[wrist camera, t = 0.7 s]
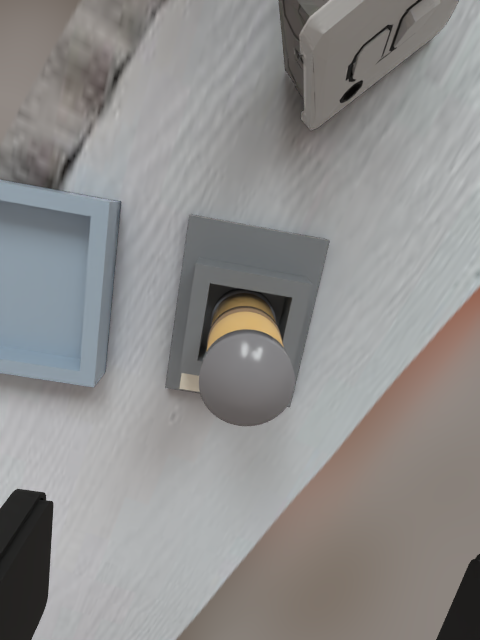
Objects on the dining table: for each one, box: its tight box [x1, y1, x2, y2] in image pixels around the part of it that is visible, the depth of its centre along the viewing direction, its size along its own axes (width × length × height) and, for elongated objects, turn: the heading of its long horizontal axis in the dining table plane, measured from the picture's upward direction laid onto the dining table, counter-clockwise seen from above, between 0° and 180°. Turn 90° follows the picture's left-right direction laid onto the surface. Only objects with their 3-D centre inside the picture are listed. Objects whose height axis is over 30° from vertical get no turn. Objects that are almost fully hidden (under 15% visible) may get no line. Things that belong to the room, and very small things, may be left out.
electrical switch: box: [279, 0, 459, 130], centre depth 19 cm, size 9×5×9 cm, turn 127°
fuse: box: [199, 288, 295, 426], centre depth 23 cm, size 4×4×10 cm
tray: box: [0, 179, 121, 387], centre depth 26 cm, size 12×12×2 cm
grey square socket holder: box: [165, 215, 330, 407], centre depth 27 cm, size 12×9×4 cm
